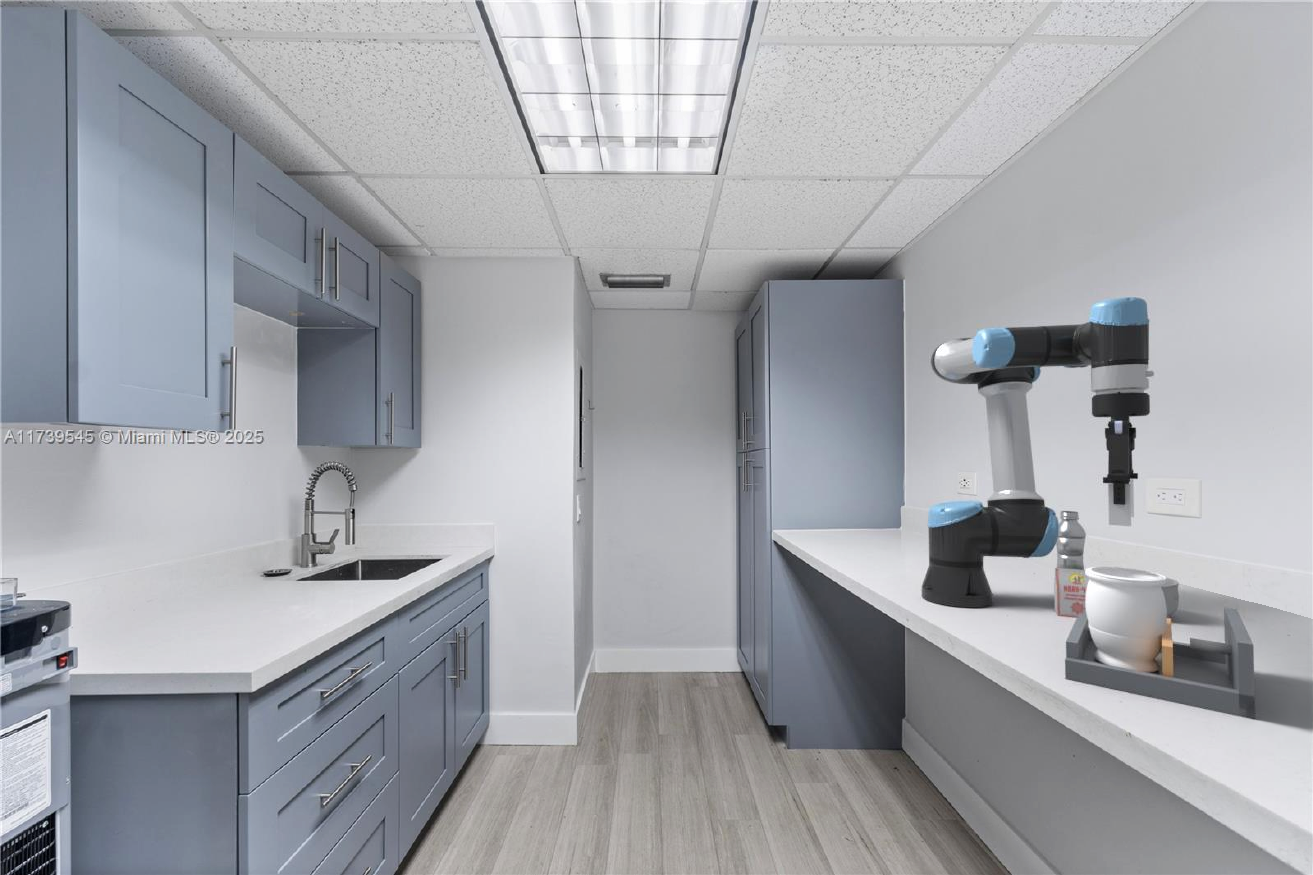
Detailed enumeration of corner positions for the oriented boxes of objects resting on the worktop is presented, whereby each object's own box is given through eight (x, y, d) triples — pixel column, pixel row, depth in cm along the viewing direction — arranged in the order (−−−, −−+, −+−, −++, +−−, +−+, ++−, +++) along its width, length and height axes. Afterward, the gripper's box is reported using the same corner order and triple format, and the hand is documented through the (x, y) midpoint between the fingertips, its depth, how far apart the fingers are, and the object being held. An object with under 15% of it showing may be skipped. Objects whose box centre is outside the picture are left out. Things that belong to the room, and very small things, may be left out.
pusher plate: (1162, 686, 85) (1161, 645, 86) (1162, 652, 99) (1161, 617, 99) (1173, 688, 85) (1172, 647, 85) (1171, 653, 98) (1170, 618, 98)
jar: (1185, 678, 89) (1183, 580, 89) (1111, 674, 90) (1109, 579, 91) (1139, 653, 99) (1137, 566, 100) (1073, 651, 101) (1071, 565, 101)
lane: (1065, 678, 92) (1064, 615, 92) (1079, 642, 108) (1078, 588, 108) (1254, 719, 78) (1253, 644, 78) (1238, 670, 94) (1236, 608, 95)
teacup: (1190, 625, 118) (1189, 586, 118) (1125, 620, 121) (1124, 582, 122) (1158, 607, 131) (1157, 571, 131) (1100, 603, 134) (1099, 568, 135)
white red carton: (1054, 611, 128) (1053, 566, 128) (1092, 615, 125) (1091, 569, 125) (1057, 616, 125) (1056, 569, 125) (1096, 620, 122) (1095, 572, 122)
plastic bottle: (1048, 588, 148) (1046, 510, 148) (1072, 587, 149) (1070, 510, 149) (1068, 595, 141) (1067, 513, 142) (1093, 594, 142) (1092, 513, 142)
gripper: (1148, 386, 84) (1151, 531, 84) (1150, 395, 103) (1152, 514, 103) (1084, 389, 89) (1086, 527, 89) (1097, 398, 108) (1099, 511, 108)
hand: (1122, 520), depth 96 cm, fingers open, 13 cm apart
